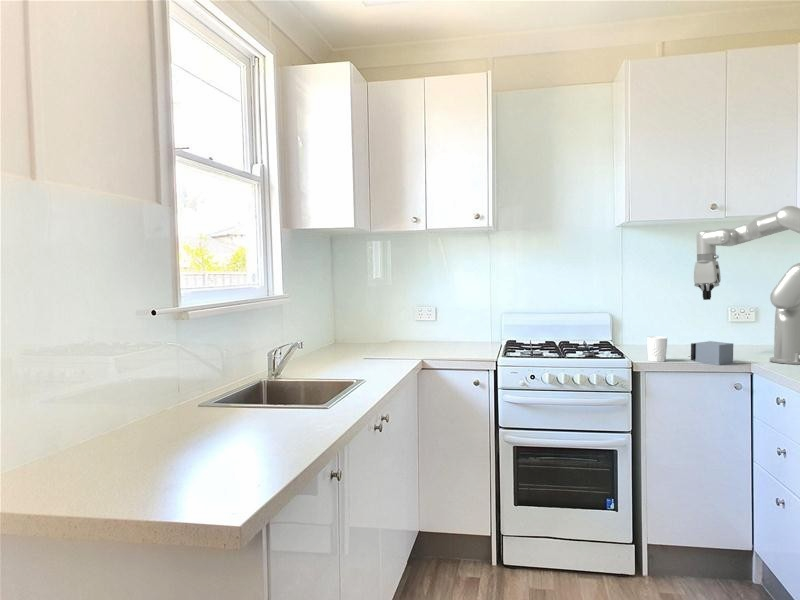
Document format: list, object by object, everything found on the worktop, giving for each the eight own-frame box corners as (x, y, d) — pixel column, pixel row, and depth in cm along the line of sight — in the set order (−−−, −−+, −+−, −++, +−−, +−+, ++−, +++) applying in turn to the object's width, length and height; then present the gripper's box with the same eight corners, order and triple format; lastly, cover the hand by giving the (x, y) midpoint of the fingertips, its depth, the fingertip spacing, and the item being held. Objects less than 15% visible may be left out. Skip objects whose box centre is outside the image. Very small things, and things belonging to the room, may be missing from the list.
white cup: (655, 362, 244) (655, 338, 243) (642, 359, 251) (642, 336, 251) (671, 361, 246) (671, 337, 246) (658, 359, 254) (658, 336, 253)
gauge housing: (738, 362, 243) (738, 342, 243) (718, 365, 236) (719, 345, 236) (690, 356, 261) (691, 338, 261) (671, 358, 254) (671, 340, 253)
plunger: (729, 360, 245) (730, 344, 244) (714, 363, 239) (714, 346, 239) (706, 357, 254) (706, 341, 253) (690, 360, 248) (691, 343, 248)
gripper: (727, 257, 258) (728, 299, 258) (694, 259, 270) (695, 299, 271) (718, 257, 254) (719, 300, 254) (685, 259, 266) (686, 299, 267)
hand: (706, 299), depth 263 cm, fingers closed
